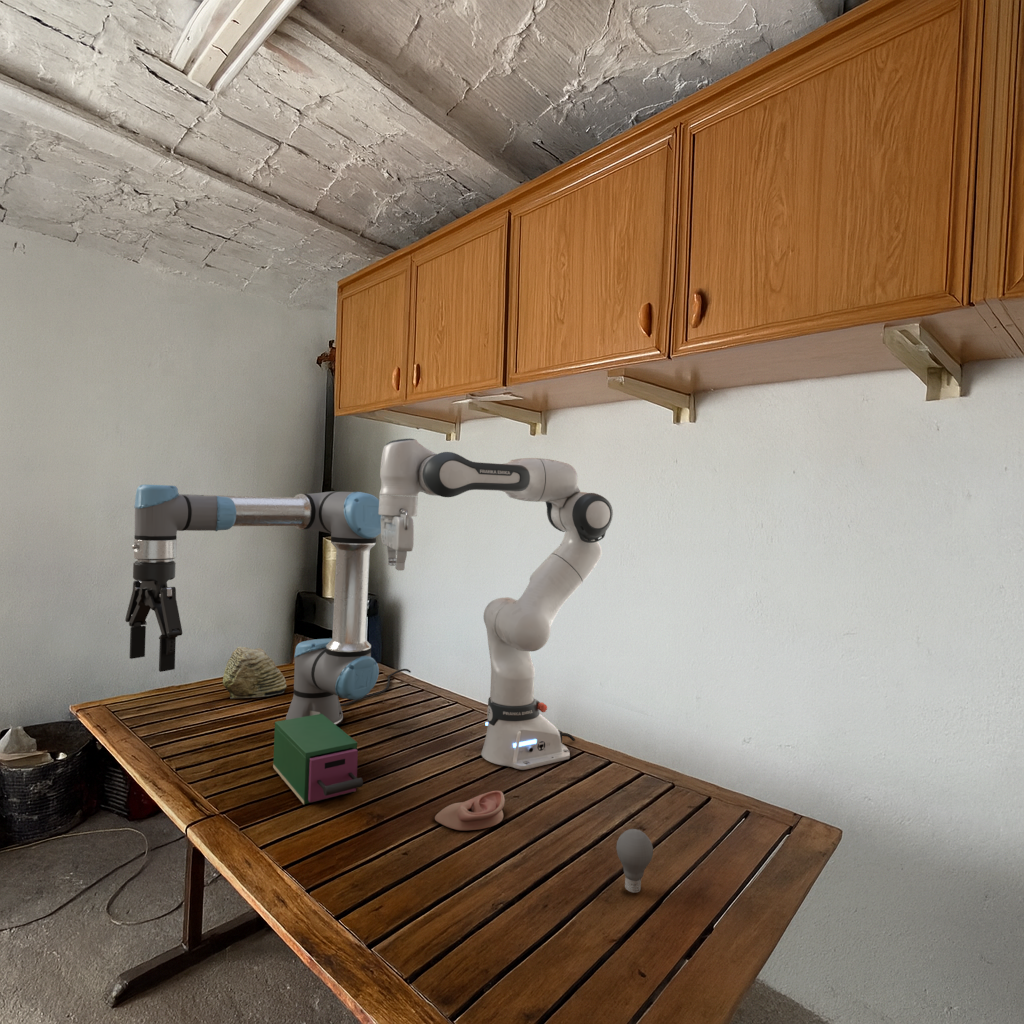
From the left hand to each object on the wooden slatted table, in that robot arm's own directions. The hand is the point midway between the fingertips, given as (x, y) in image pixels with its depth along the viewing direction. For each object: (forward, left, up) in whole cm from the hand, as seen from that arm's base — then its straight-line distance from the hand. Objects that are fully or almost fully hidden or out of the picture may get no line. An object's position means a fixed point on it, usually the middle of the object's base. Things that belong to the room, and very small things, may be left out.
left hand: (151, 663), depth 130 cm
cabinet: (-28, +16, -28) cm, 43 cm away
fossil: (-50, -47, -28) cm, 74 cm away
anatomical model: (-40, +54, -28) cm, 72 cm away
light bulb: (-40, +90, -28) cm, 102 cm away
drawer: (-27, +21, -27) cm, 44 cm away
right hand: (-43, +25, +20) cm, 53 cm away
